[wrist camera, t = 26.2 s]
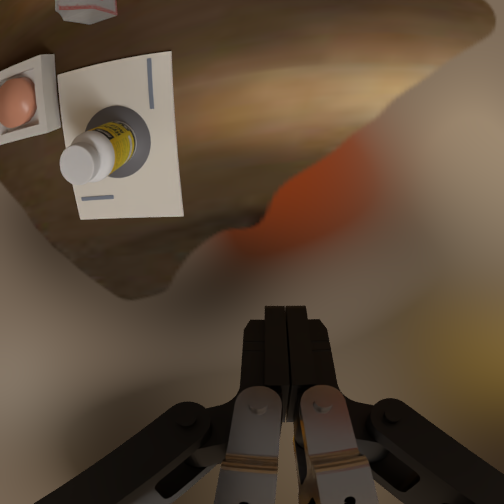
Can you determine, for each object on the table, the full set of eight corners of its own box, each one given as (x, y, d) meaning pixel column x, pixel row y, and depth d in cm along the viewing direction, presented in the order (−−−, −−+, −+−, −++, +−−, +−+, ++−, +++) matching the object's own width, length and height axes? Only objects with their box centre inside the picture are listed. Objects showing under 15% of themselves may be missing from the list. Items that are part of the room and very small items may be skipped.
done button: (2, 84, 28) (-7, 86, 26) (36, 71, 28) (26, 72, 26) (7, 128, 31) (-2, 132, 29) (40, 119, 31) (31, 122, 29)
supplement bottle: (139, 121, 33) (101, 139, 25) (136, 165, 36) (101, 196, 27) (98, 118, 33) (53, 137, 24) (97, 161, 35) (55, 190, 27)
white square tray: (2, 74, 29) (-12, 77, 26) (54, 54, 28) (40, 54, 26) (9, 139, 34) (-4, 145, 31) (61, 127, 33) (48, 132, 31)
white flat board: (58, 74, 30) (56, 75, 29) (171, 51, 29) (170, 51, 29) (81, 218, 40) (79, 220, 40) (183, 215, 40) (182, 217, 39)
